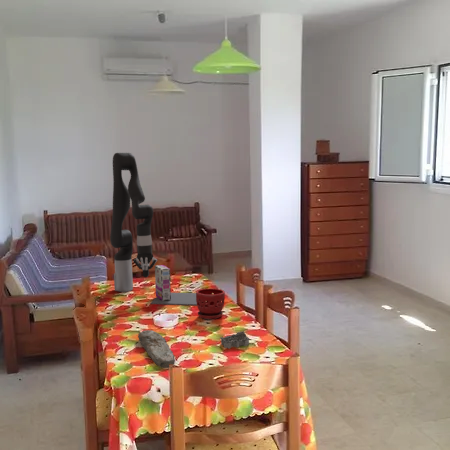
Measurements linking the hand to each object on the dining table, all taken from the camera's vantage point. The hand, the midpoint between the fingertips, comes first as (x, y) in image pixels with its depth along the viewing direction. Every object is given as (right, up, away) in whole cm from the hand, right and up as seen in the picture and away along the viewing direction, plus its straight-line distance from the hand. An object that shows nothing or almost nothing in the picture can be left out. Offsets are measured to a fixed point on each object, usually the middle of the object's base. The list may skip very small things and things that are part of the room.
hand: (146, 277), depth 276 cm
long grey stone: (+14, -22, -70) cm, 75 cm away
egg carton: (+45, -21, -65) cm, 82 cm away
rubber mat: (+17, -11, 0) cm, 20 cm away
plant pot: (+34, -15, -29) cm, 48 cm away
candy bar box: (+9, -11, 0) cm, 14 cm away
